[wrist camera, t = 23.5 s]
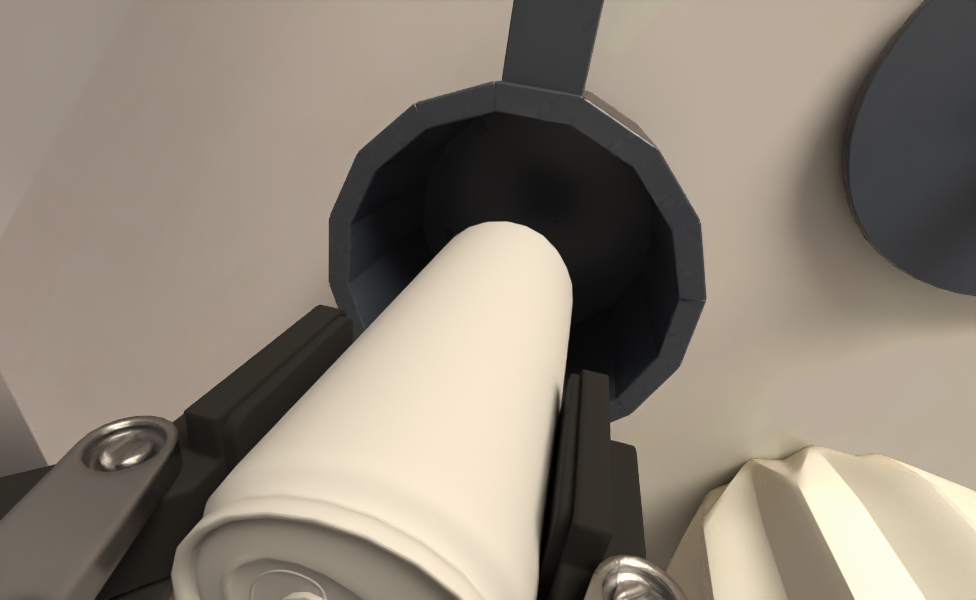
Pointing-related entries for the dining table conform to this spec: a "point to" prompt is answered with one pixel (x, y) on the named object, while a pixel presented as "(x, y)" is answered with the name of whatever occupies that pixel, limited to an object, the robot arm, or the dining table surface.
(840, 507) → the vase
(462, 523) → the beverage can
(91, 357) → the dining table surface
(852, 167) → the lid
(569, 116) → the pot
